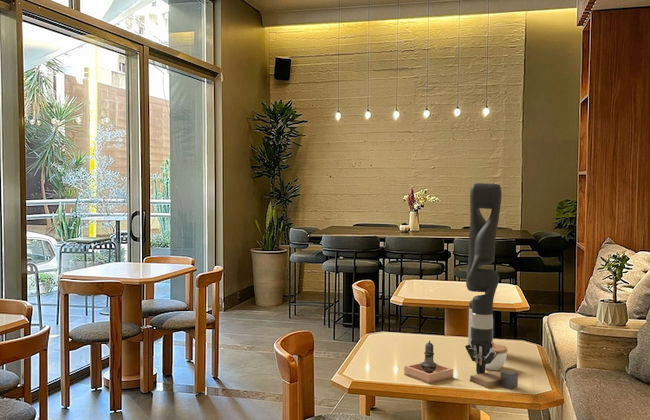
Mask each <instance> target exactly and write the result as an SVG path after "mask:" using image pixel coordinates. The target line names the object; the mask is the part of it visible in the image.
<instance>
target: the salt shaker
mask: <svg viewBox="0 0 650 420" xmlns="http://www.w3.org/2000/svg"><path fill="white" fill-rule="evenodd" d="M424 347H425V348H424V352H423V354H424V361H421V362H422V363H421V362H420V363H421V367H422V369H423V370H424V371H423V372H426V373H434V372H433V371H435V369H436V366H437V364H438V363H437V364H436V362H435V361H434V360H435V359H434V355H435V352H434V344H433V343H432V342H431V341H430V340H428V342H427V343H425V345H424Z"/></svg>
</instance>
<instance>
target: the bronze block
mask: <svg viewBox="0 0 650 420" xmlns="http://www.w3.org/2000/svg"><path fill="white" fill-rule="evenodd" d="M500 377H501V371H499V370H491V371H487V372H485V373H482V374H477V373H476V374H472V375H470V379H469V381H470V382H471V383H473V384H475V385H478V386H480V387H483V388H486V389H491V388H495V387H501V386H500ZM490 387H491V388H490Z"/></svg>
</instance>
